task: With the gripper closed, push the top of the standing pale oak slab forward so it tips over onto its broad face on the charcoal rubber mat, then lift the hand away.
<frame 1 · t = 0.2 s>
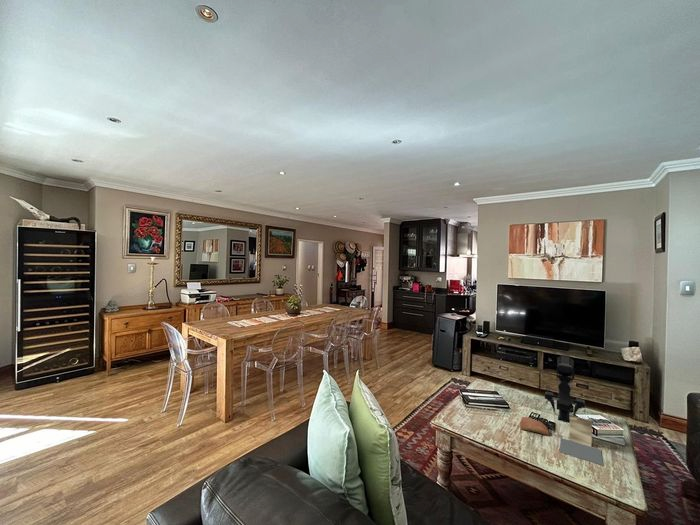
hand: (563, 414, 177), 14 cm above the table, tool pointing down, fingers open, 9 cm apart
oak slab: (580, 441, 174), on the table
ceramic shard: (533, 428, 189), on the table
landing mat: (580, 451, 165), on the table
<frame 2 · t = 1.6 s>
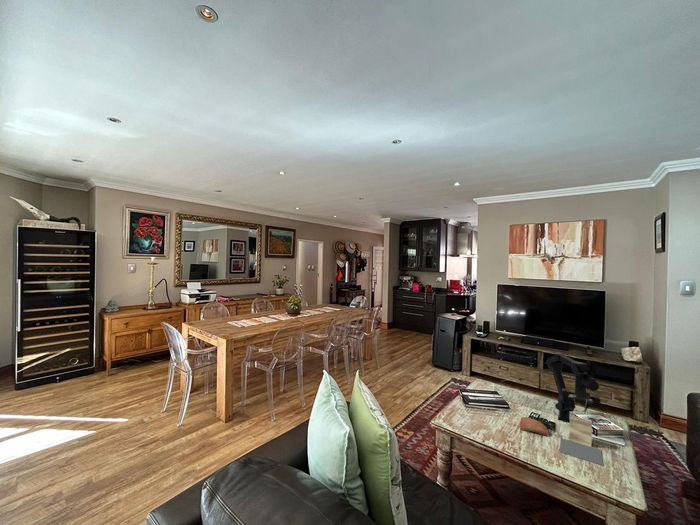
hand: (580, 409, 186), 13 cm above the table, tool pointing down, fingers open, 5 cm apart
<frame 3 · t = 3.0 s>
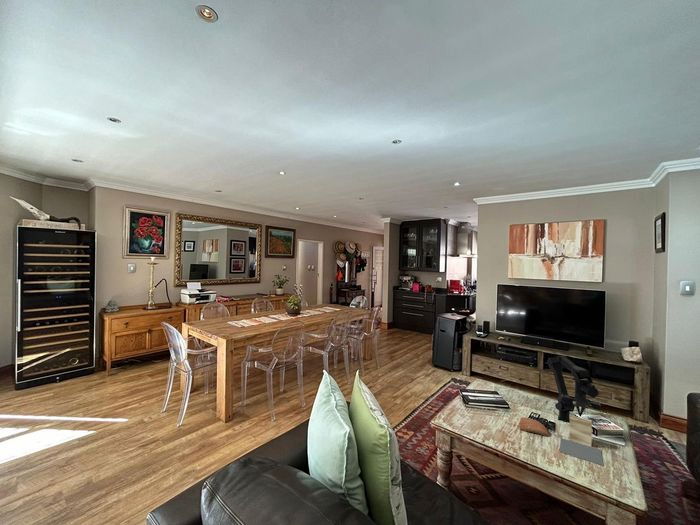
hand: (580, 416, 185), 10 cm above the table, tool pointing down, fingers closed
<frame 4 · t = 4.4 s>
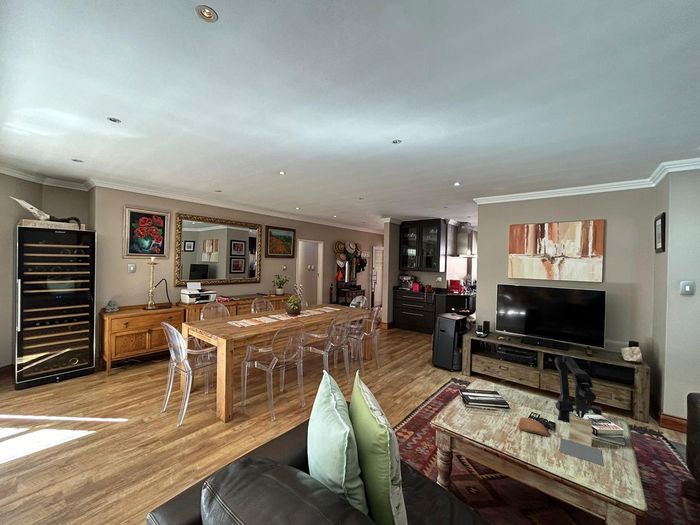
hand: (580, 421, 179), 10 cm above the table, tool pointing down, fingers closed
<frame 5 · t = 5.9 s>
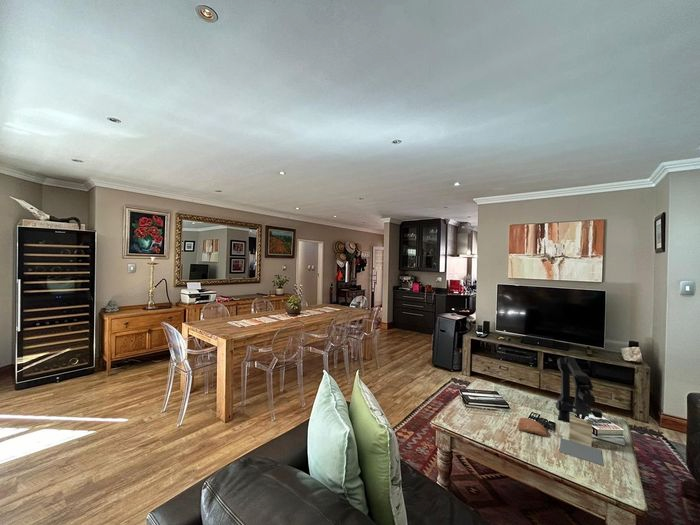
hand: (580, 424, 175), 10 cm above the table, tool pointing down, fingers closed
oak slab: (580, 441, 174), on the table, tilted 12°, touching gripper
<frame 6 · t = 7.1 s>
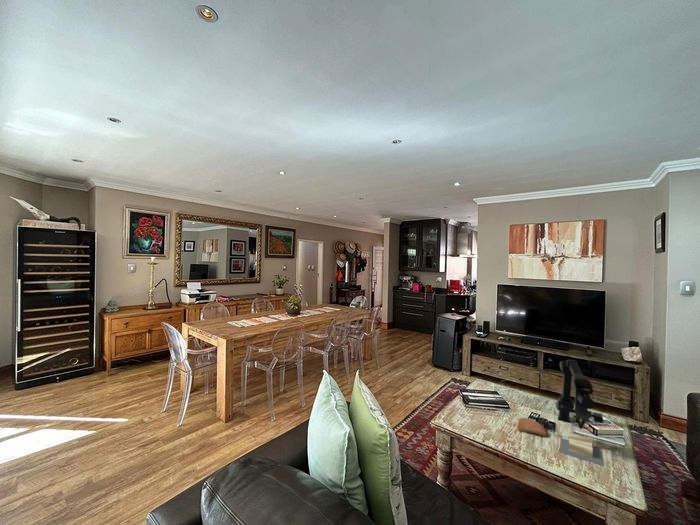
hand: (580, 428, 170), 10 cm above the table, tool pointing down, fingers closed
oak slab: (580, 439, 173), point 2 cm above the table, tilted 90°, touching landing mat
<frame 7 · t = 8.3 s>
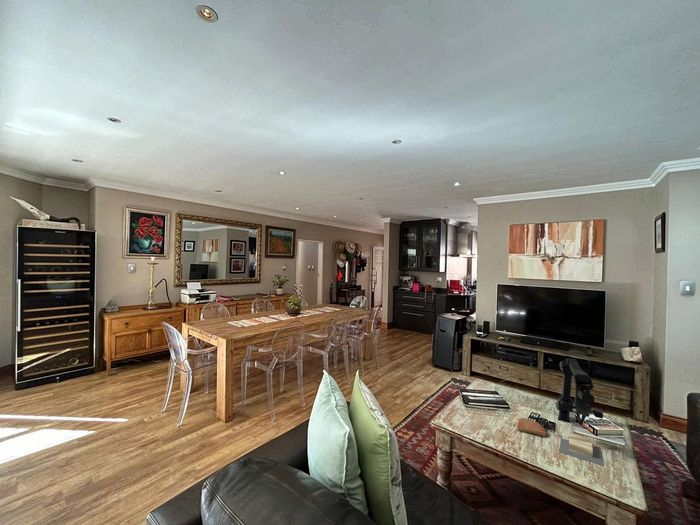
hand: (580, 424, 170), 12 cm above the table, tool pointing down, fingers closed
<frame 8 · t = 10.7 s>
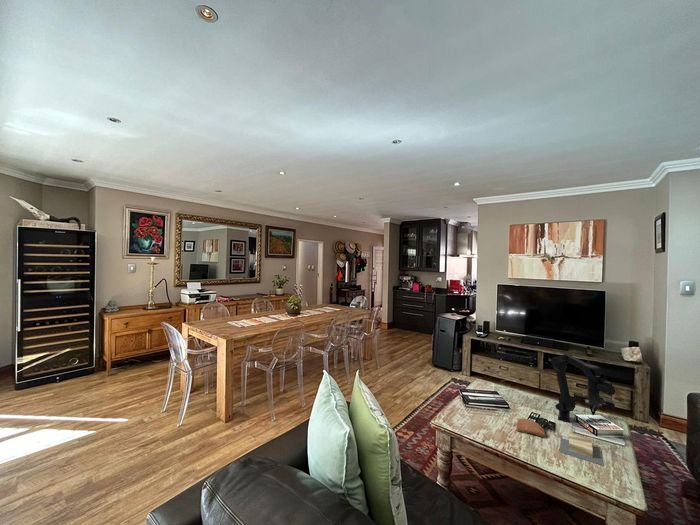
hand: (593, 414, 180), 13 cm above the table, tool pointing down, fingers closed
at the end: oak slab tilted 90°; oak slab touching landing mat; the gripper is holding nothing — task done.
